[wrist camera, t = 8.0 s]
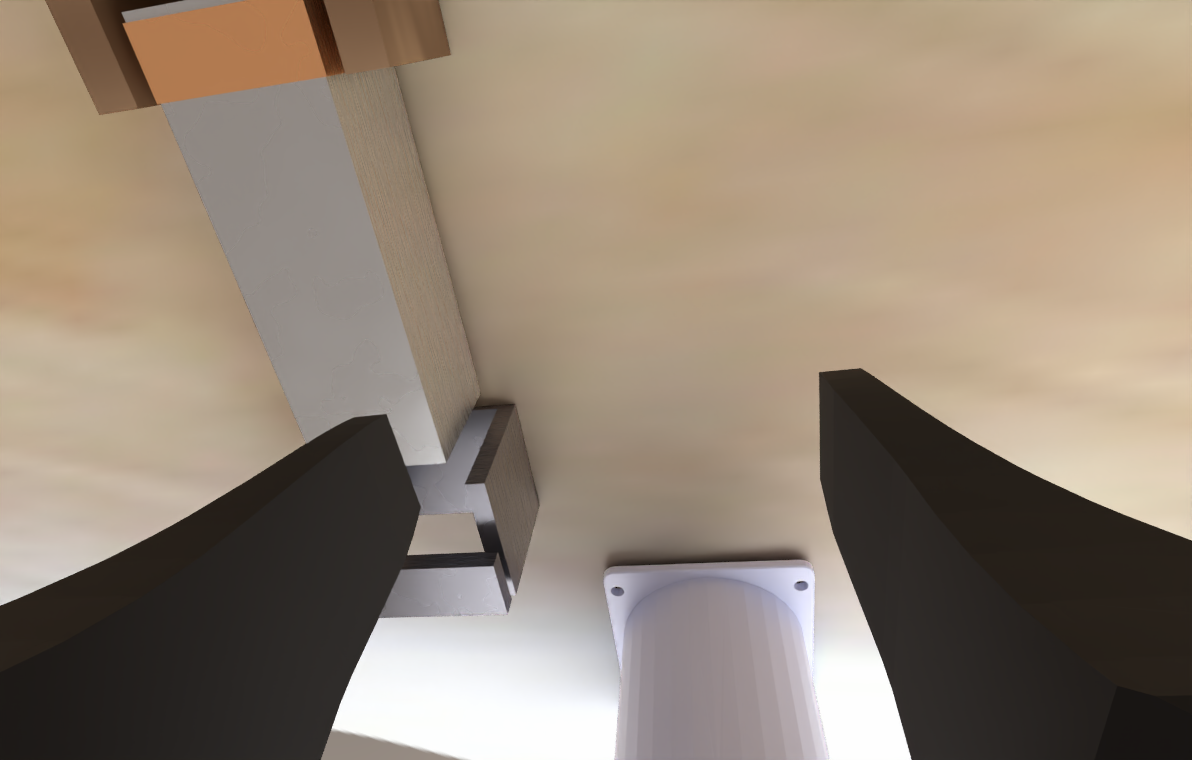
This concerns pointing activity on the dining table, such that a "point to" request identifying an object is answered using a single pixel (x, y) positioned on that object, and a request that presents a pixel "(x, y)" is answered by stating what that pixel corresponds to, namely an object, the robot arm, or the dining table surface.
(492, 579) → the sleeve
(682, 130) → the dining table surface
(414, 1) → the socket
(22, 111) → the dining table surface
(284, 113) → the tube
